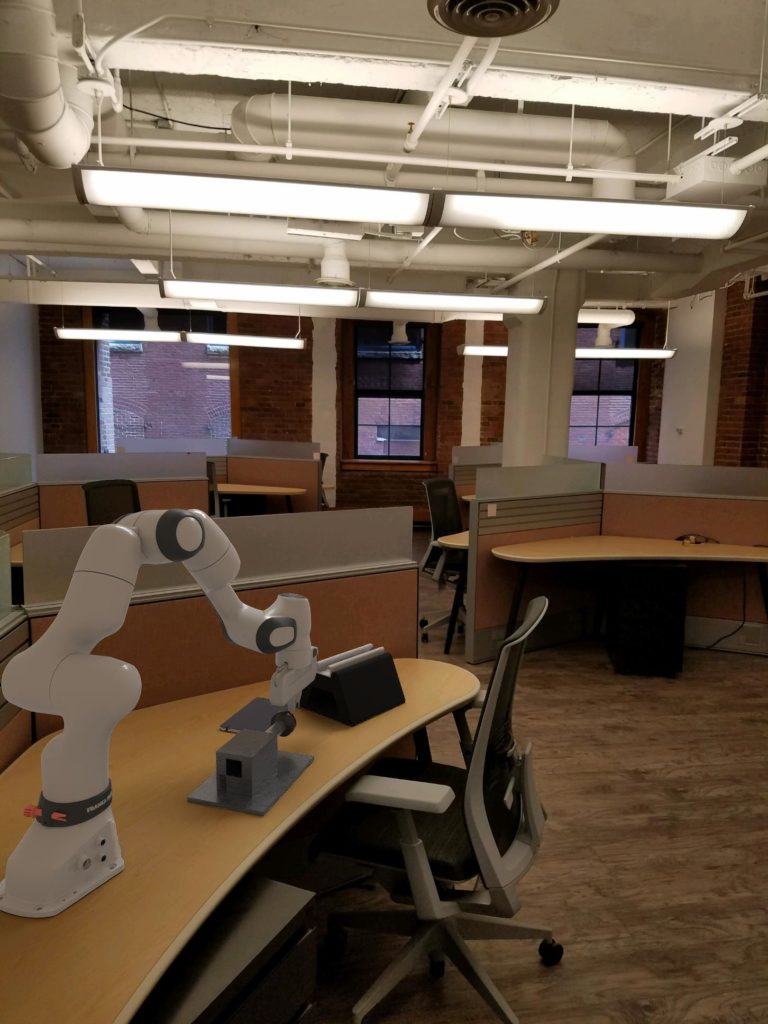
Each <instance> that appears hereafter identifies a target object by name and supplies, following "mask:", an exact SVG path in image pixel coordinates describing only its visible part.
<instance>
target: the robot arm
mask: <svg viewBox="0 0 768 1024" xmlns="http://www.w3.org/2000/svg"><path fill="white" fill-rule="evenodd" d="M77 560H78V561H77V563H76V566H75V569H74V571H73V574H72V578H71V580H70V582H69V587H68V589H67V592H66V594H65V597H64V600H63V602H62V605H61V607H60V610H59V612H58V613H57V615H56V616H55V618H54V620H53V622H52V623H51V624H50V626H49V627H48V628H47V629H46V631H45V632H44V633H43V634H42V635H41V636H40V637H39V639H38V640H36V641H35V642H34V643H33V644H32V645H31V646H29V647H28V648H27V649H25V650H23V651H21V652H19V653H17V654H16V655H15V656H13V657H12V658H11V659H10V660H9V662H8V663H7V664H6V666H5V668H4V669H3V673H2V676H1V680H0V681H1V684H0V685H1V692H2V695H3V698H4V699H5V701H8V703H10V704H11V705H14V706H16V707H18V708H21V709H24V710H27V711H29V712H34V713H39V714H40V713H41V714H46V715H47V714H48V715H55V716H60V717H62V719H63V723H64V724H63V726H64V727H63V731H62V732H61V733H59V734H57V735H55V736H53V737H52V738H51V739H50V740H49V741H48V742H47V744H45V747H44V748H43V749H42V752H41V755H40V765H41V766H40V769H41V770H40V771H41V785H42V787H41V789H42V790H41V791H40V795H39V798H38V802H37V805H34V804H31V803H29V804H27V805H26V806H24V809H23V812H22V813H23V816H24V817H26V818H31V819H34V821H33V822H32V823H31V825H30V827H29V828H28V829H27V831H26V832H25V833H24V835H23V836H22V838H21V840H20V841H19V842H18V844H17V846H16V847H15V848H14V850H13V851H12V853H11V854H10V856H9V857H8V859H7V862H6V867H5V876H4V878H3V879H2V880H1V881H0V911H3V912H5V913H8V914H11V915H15V916H17V917H18V916H19V917H24V918H36V919H37V918H49V917H54V916H56V915H58V914H60V913H61V912H63V911H65V910H66V909H67V908H68V907H70V906H72V905H73V904H75V903H76V902H78V901H79V900H81V899H82V898H83V897H85V896H86V895H88V894H89V893H91V892H93V891H94V890H95V889H97V888H98V887H99V886H101V885H103V884H104V883H106V882H107V881H109V880H110V879H112V878H113V877H115V876H116V875H117V874H119V873H120V872H122V871H123V870H124V869H125V867H126V865H125V861H124V859H123V856H122V848H121V845H120V842H119V838H118V832H117V831H118V830H117V826H116V820H115V816H114V814H113V811H112V805H111V804H112V802H113V792H114V791H113V787H112V780H111V778H110V776H109V775H110V774H109V773H110V772H109V771H110V770H109V769H110V768H109V764H110V763H109V759H110V758H109V757H110V755H109V753H110V752H109V751H110V749H109V748H110V742H111V741H110V740H111V738H112V734H113V732H114V730H115V727H116V726H117V724H118V723H120V721H121V720H122V719H124V718H125V717H127V716H128V715H130V713H131V712H133V710H134V709H135V707H136V706H137V704H138V702H139V700H140V698H141V693H142V689H143V688H142V680H141V679H142V678H141V675H140V673H139V671H138V669H137V668H136V666H135V665H133V664H131V663H128V662H127V661H124V660H121V659H119V658H115V657H112V656H107V655H98V654H97V655H96V654H91V652H92V651H93V649H94V648H95V647H96V646H97V644H99V642H101V641H102V640H104V638H107V637H108V636H111V635H114V634H116V633H117V632H118V631H119V630H120V629H121V628H122V626H123V625H124V623H125V620H126V616H127V613H128V610H129V609H128V608H129V606H130V604H131V603H130V602H131V599H132V595H133V592H134V589H135V585H136V582H137V578H138V574H139V569H140V567H141V566H142V565H143V564H147V565H149V564H150V565H162V564H163V565H165V564H170V563H175V562H176V563H179V562H180V563H182V564H183V566H184V567H185V568H186V570H187V571H188V572H189V573H190V575H191V576H192V578H193V579H194V580H195V581H196V583H197V584H198V586H199V588H200V590H201V591H202V593H203V595H204V596H205V597H206V599H207V601H208V602H209V604H210V606H211V607H212V609H213V611H214V612H215V614H216V615H217V617H218V619H219V622H220V627H221V631H222V634H223V636H224V638H225V640H226V641H227V642H228V643H230V644H232V645H235V646H240V647H243V648H246V649H249V650H252V651H254V652H258V653H260V654H264V655H275V665H276V667H277V668H276V669H275V672H274V673H273V674H272V676H271V679H270V685H269V686H270V687H269V699H270V703H271V704H272V705H276V706H284V705H285V704H286V703H287V704H288V711H290V712H291V713H295V711H296V710H297V709H299V708H300V707H299V701H300V698H301V694H302V690H303V689H304V688H305V687H306V686H308V685H309V684H310V683H311V682H312V681H314V679H315V676H316V667H317V662H318V661H317V656H318V654H319V648H318V646H313V645H312V642H311V637H310V633H311V631H312V630H311V629H312V613H311V605H310V602H309V599H308V597H306V596H304V595H302V594H298V593H293V592H282V593H279V594H278V595H277V598H276V600H275V601H274V602H273V603H272V604H270V606H269V607H267V608H266V609H264V610H261V609H258V608H255V607H252V606H250V605H248V604H246V603H244V602H242V601H241V600H240V598H239V597H238V595H237V593H236V592H235V590H234V588H233V587H232V585H231V583H232V582H233V581H234V580H235V579H236V578H237V576H238V574H239V571H240V570H241V559H240V556H239V553H238V551H237V550H236V548H235V546H234V545H233V543H232V542H231V541H230V539H229V538H228V536H227V535H226V534H225V532H224V531H223V530H222V529H221V527H220V526H219V525H218V524H217V523H216V522H215V521H214V520H213V519H212V518H211V517H210V516H209V515H208V514H207V513H206V512H204V511H203V510H200V509H197V508H191V509H181V508H171V509H147V510H142V511H138V512H134V513H133V512H130V513H127V514H126V513H125V514H124V515H121V516H120V517H117V518H116V519H115V520H114V521H112V522H111V523H108V524H103V525H101V526H98V527H96V529H94V531H93V532H92V533H91V535H90V537H89V539H88V540H87V541H86V544H85V546H84V547H83V549H82V552H81V554H80V556H79V558H78V559H77Z"/></svg>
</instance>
